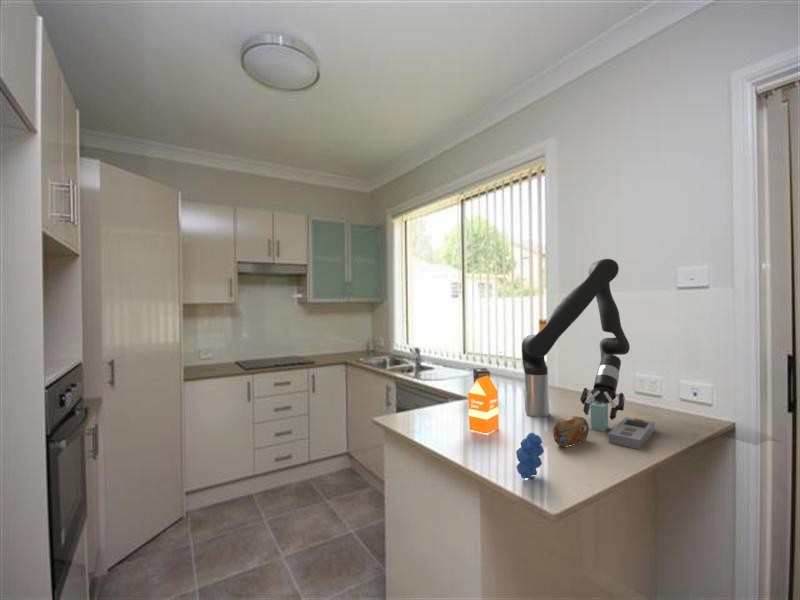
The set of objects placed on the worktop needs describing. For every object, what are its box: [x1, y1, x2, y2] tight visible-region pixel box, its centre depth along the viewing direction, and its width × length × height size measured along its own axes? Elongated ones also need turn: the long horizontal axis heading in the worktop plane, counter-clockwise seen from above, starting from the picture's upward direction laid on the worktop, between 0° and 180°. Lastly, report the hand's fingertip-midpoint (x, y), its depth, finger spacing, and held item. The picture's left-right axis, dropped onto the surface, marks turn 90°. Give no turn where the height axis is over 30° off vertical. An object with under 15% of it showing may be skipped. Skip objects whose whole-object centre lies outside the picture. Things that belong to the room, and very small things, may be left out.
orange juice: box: [467, 376, 500, 433], centre depth 137 cm, size 8×9×20 cm
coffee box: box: [472, 367, 491, 384], centre depth 172 cm, size 9×6×16 cm
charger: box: [590, 402, 609, 432], centre depth 135 cm, size 4×4×9 cm
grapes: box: [515, 432, 545, 479], centre depth 101 cm, size 12×7×12 cm, turn 131°
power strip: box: [607, 416, 656, 450], centre depth 127 cm, size 22×9×4 cm, turn 135°
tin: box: [552, 415, 590, 448], centre depth 123 cm, size 15×3×8 cm, turn 117°
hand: (598, 416), depth 134 cm, fingers open, 8 cm apart
